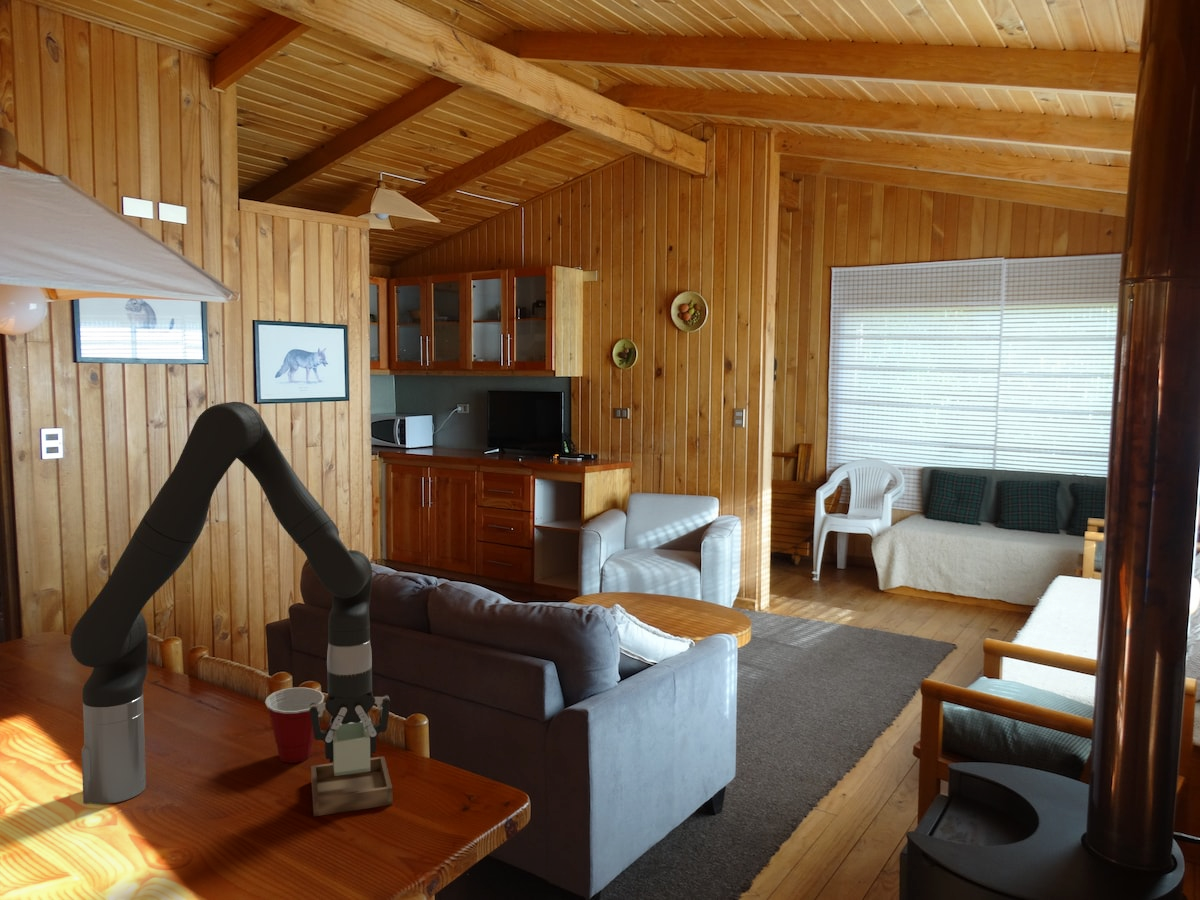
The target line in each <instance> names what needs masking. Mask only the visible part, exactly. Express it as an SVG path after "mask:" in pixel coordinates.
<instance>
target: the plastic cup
mask: <svg viewBox="0 0 1200 900" xmlns="http://www.w3.org/2000/svg"><path fill="white" fill-rule="evenodd" d="M324 700H325V695H324V693H323V692H321V691H320V690H318V689H315V688H310V687H300V686H299V687H298V686H297V687H289V688H283V689H280V690H277V691H274V692H272V693H271V694H270V695H268V696H267V697H266V699H265V701H264V703H265V706H266V707H267V710H268V713H269V717H270V720H271V721H270V722H271V724H272V731H273V736H274V741H275V744H276V748H277V753H278V757H279V759H280V761H281V762H284V763H286V764H287V763H289V764H294V763H295V764H296V763H300V762H304V761H306V760H308V759H309V758H311V756H312V751H313V745H314V740H315V738H314V733H313V727H312V722H311V716H310V708H309V706H310V704H311V703H315V704H320V703H324Z"/></svg>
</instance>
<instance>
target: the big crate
mask: <svg viewBox="0 0 1200 900" xmlns="http://www.w3.org/2000/svg"><path fill="white" fill-rule="evenodd" d="M387 765H388V764H387V762H386V759H385V755H384V756H375V757H370V771H368V772H361V773H354V774H347V775H340V776H334V768H333V762H329V763H323V764H314V765H310V769H311V770H310V772H311V773H310V775H311V777H310V778H311V780H310V781H311V782H310V783H311V794H312V797H311V798H312V810H313V811H312V812H313V817H320V816H325V815H332V814H339V813H346V812H352V811H359V810H366V809H371V808H373V809H374V808H380V807H384V806H390V805H391V806H392V805H393V785H392V782H391V781H392V780H391V778H390V774H389V773H390V772H389V770H388V766H387ZM379 806H380V807H379Z"/></svg>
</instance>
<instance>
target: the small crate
mask: <svg viewBox="0 0 1200 900" xmlns="http://www.w3.org/2000/svg"><path fill="white" fill-rule="evenodd" d="M370 758H371V757H370V735H369V731H367V729H366V728H365V726H364V725H363V723H362V721H360V722H358V723H353V722H350V723H348V724H342V723H341V724H340V726H339V728H338V730H337V731H336V733H335V735H334V736H333V762H332V763H333V768H334V776H340V775H347V774H354V773H361V772H368V771H370Z"/></svg>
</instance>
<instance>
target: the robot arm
mask: <svg viewBox="0 0 1200 900" xmlns="http://www.w3.org/2000/svg"><path fill="white" fill-rule="evenodd" d="M236 459H237V460H238V461H240V463H242V464H243V465H244V466H245V467H246V468H247V469H248V471H249V472H251V474H252V475H253V476H254V478H255V479H256V481H257V482H258V483H259V486H260V487H261V489H262V491H263V493H264V495H265V497H266V498H267V501H268V504H269V506H270V507H271V509H272V510H271V511H272V512H273V514H274V515H275V518H276V519H277V521H278V523H279V524H280V526H282V528H283V530H285V532H286V533H287V534H288V536H289V537H290V538H291V539H292V541H294V543H295V544H296V545H297V546H298V548H300V550H301V551H302V552H303V553H304V554H305V557H306V559H307V560H308V563H309V564H310V567H311V568H312V570H313V572H314V573H315V575H316V576H317V579H318V580H319V582H320V583H321V584H322V586H323V587H324V588H325V590H327V591H328V592H329V593H331V594H332V606H331V608H330V612H329V615H328V620H327V621H328V622H327V623H328V624H327V626H328V627H327V633H328V634H327V635H328V636H327V638H328V639H327V641H328V643H327V644H328V645H327V651H326V652H327V653H326V654H327V655H326V668H327V669H326V670H327V677H326V678H327V698H326V699H325V702H324V701H323V703H320V704H315V703H311V704H310V706H309V708H310V716H311V722H312V727H313V733H314V740H315V741H323V742H324V756H325V759H326V760H329V763H333V736H334V735H335V733H336V731H337V730H338V728H339V726H340V724H341V723H342V724H348V723H350V722H353V723H358V722H360V721H362V723H363V725H364V726H365V728H366V729H367V731H369V735H370V758H373V754H376V751H377V735H378V734H380V733H386V731H387V729H388V725H389V724H388V723H389V715H390V710H391V700H390V697H389V695H388V694H384V695H383V696H375V695H374V693H373V670H372V669H373V666H372V665H373V663H372V662H373V658H372V653H373V652H372V646H371V624H370V622H371V621H370V604H371V597H372V596H371V595H372V586H373V569H372V564H371V561H370V559H369V558H368V556H367V555H365V554H364V553H363V552H361V551H359V550H356V549H355V550H354V549H352V550H351V549H349V550H348V549H347V547H346V545H345V544H344V542H342V540H341V538H340V531H339V529H338V527H337V525H336V524H335V522H334V520H332V518H331V517H330V516H329V514H328V513H327V512H326V511H325V509H324V508H323V507H322V506H321V504H320V503H319V502H318V501H317V500H316V499H315V497H314V496H313V495H312V493H311V492H310V491H309V490H308V488H307V487H306V486H305V484H304V483H303V482H302V481H301V479H300V478H299V476H298V475H297V474H296V471H294V469H293V467H292V466H291V465H290V463H289V461H288V460H287V458H286V457H285V455H284V454H283V452H282V451H281V449H280V447H279V446H278V444H277V442H276V441H275V439H274V436H272V433H271V431H270V430H269V428H268V426H267V424H266V423H265V421H264V419H263V417H262V415H260V413H259V412H258V410H257V409H256V408H255V407H253V406H252V405H249V404H248V403H245V402H241V401H229V402H225V403H224V402H223V403H219V404H214V405H211V406H209V407H208V408H206V409H204V410H203V412H202V413H200V415H199V416H198V417H197V419H196V421H195V422H194V425H193V426H192V429H191V431H190V433H189V436H188V438H187V439H186V443H185V445H184V448H183V449H182V452H181V454H180V456H179V459H178V460H177V462H176V465H174V466H175V467H174V468H173V470H172V471H171V473H170V475H169V476H168V477H167V479H166V481H165V482H164V483H163V485H162V487H161V488H160V490H159V491H158V493H157V495H156V497H154V500H153V501H152V503H151V505H150V506H149V507H148V509H147V511H145V513H144V515H143V517H142V519H141V520H140V522H139V523H138V526H137V527H136V529H135V531H134V532H133V534H132V536H131V538H130V539H129V541H128V543H127V546H126V547H125V549H124V551H123V553H122V554H121V555H120V557H119V559H118V560H117V563H116V564H115V566H114V568H113V570H112V572H111V574H110V575H109V578H108V579H107V581H106V582H105V584H104V585H103V587H102V589H101V590H100V592H99V593H98V594H97V596H95V599H94V600H93V601H92V602H91V604H90V605H89V606H88V608H87V609H86V611H85V612H84V613H83V614H82V615H81V617H80V618H79V620H78V621H77V622H76V624H75V626H73V627H74V628H73V630H72V632H71V635H70V642H69V643H70V644H69V645H70V649H71V653H72V656H73V658H74V659H75V660H76V661H77V662H78V663H79V664H80V665H82V666H85V667H88V668H93V669H92V671H91V674H90V675H89V677H88V679H87V680H86V681H85V683H84V685H83V686H82V691H81V692H82V693H81V695H82V712H83V713H82V714H83V716H82V717H83V741H84V745H83V746H82V749H81V774H82V776H81V778H82V798H83V799H82V801H83V802H82V803H83V804H87V803H93V804H99V805H106V804H107V805H108V804H115V803H120V802H124V801H127V800H130V799H132V798H135V797H136V796H139V795H140V794H141V793H142V792H144V791H145V789H146V787H147V774H146V752H145V751H146V748H145V747H146V744H145V742H146V741H145V715H144V713H145V711H144V708H145V707H144V683H145V680H146V678H147V673H148V662H149V661H148V660H149V659H148V655H149V653H148V652H149V651H148V650H149V649H148V648H149V636H148V635H149V633H148V626H147V622H146V619H145V617H144V615H143V613H142V610H143V608H144V607H145V606H146V604H147V603H148V602H149V600H150V599H151V598H152V597H153V596H154V595H155V594H156V593H157V592H158V591H159V590H160V589H161V588H162V586H164V584H166V583H167V582H168V580H169V579H170V578H172V576H173V575H174V574H175V573H176V572H177V571H178V569H179V568H180V567H181V566H182V564H183V563H184V561H185V560H186V559H187V558H188V555H189V554H190V552H191V551H192V549H193V547H194V546H195V544H196V543H197V541H198V539H199V537H200V536H201V533H202V531H203V528H204V526H205V524H206V521H207V518H208V517H207V516H208V513H209V509H210V504H211V502H212V501H211V500H212V497H213V494H214V492H215V490H216V489H217V486H218V484H219V483H220V481H221V480H222V479H223V477H224V475H225V474H226V473H227V472H228V470H229V469H230V467H231V466H232V464H233V463H234V462H235V461H236ZM375 705H376V706H377V709H378V710H380V712H379V719H378V722H377V723H376V724H374V722H373V721H372V719H371V717H370V715H369V713H370V711H371V709H372V708H373V707H374V706H375ZM325 710H326V712H328V714H329V715H330V716H331V718H330V720H329V723H328V726H327V727H326V729H325V730H322V729H321V723H320V718H321V717H322V716H323V715H324V714H323V712H324V711H325Z"/></svg>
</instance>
